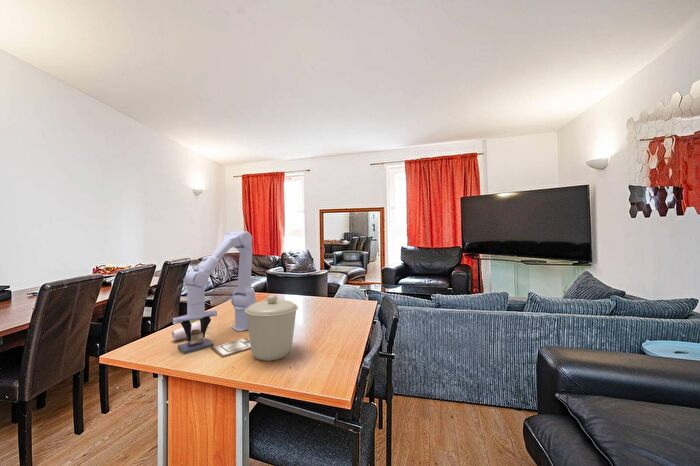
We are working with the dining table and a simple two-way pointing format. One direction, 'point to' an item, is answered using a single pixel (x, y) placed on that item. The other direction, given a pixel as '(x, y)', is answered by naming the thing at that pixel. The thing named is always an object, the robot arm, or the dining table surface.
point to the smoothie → (181, 333)
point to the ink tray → (195, 346)
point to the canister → (271, 327)
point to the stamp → (196, 337)
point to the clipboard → (232, 347)
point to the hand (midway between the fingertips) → (195, 338)
